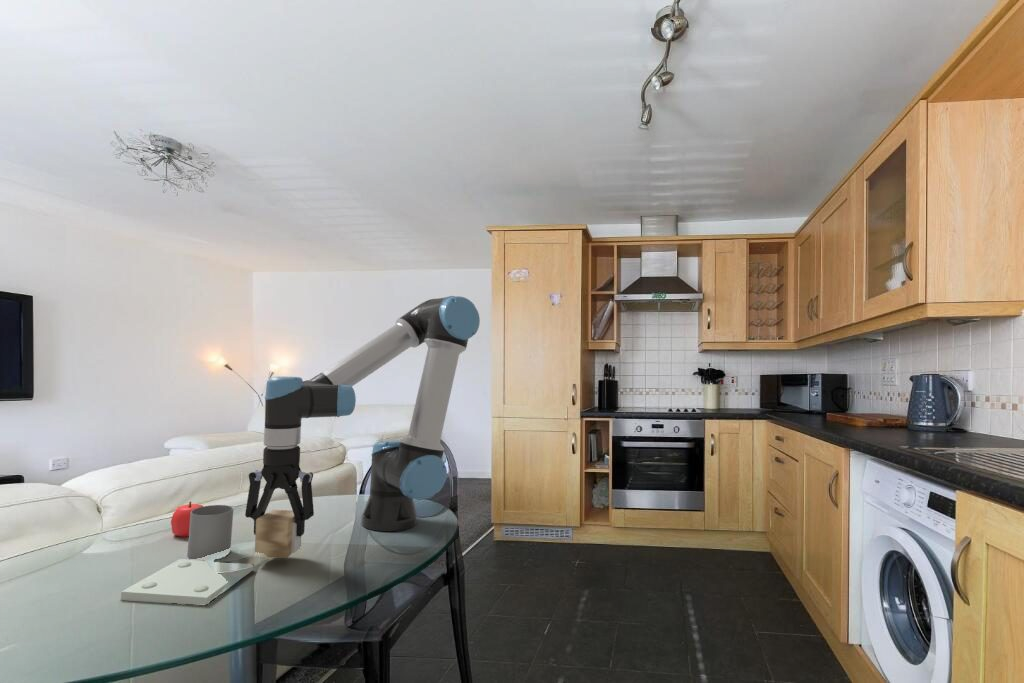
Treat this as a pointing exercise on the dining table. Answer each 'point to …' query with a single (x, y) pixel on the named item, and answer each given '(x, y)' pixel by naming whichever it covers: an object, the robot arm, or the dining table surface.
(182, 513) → the apple
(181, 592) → the plate
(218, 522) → the cup
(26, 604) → the dining table surface
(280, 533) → the oak block
